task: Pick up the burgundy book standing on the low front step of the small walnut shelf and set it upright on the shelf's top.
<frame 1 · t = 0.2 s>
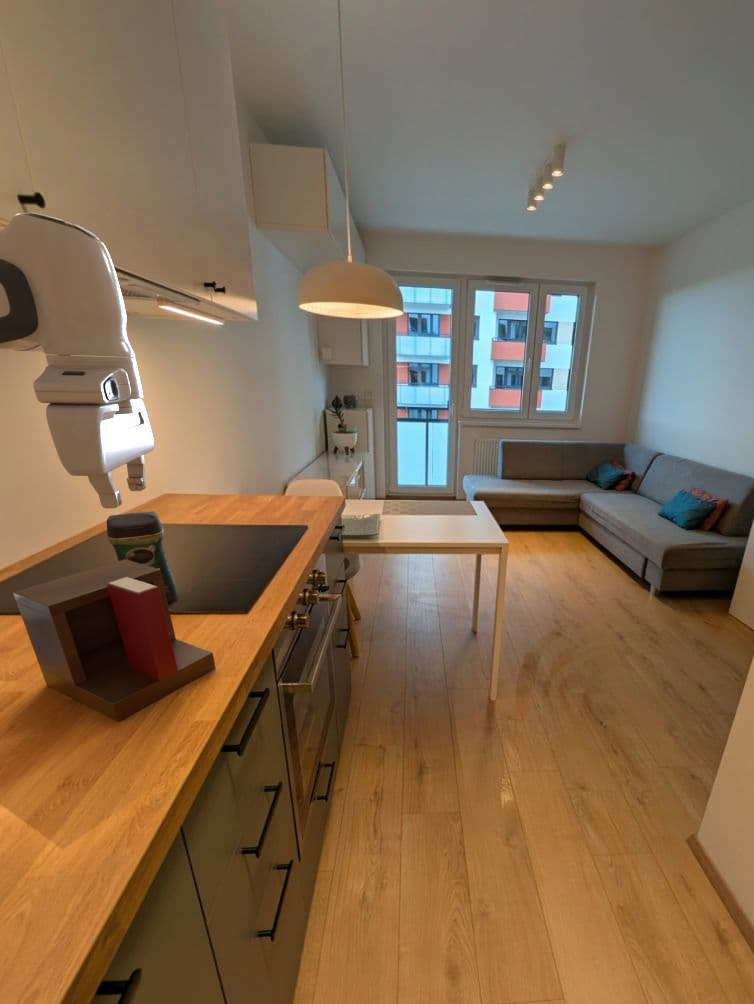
hand: (126, 498, 66), 29 cm above the worktop, tool pointing down, fingers open, 8 cm apart
shelf: (134, 676, 80), on the worktop
book: (154, 670, 77), point 3 cm above the worktop, touching shelf
coffee jar: (153, 601, 106), on the worktop
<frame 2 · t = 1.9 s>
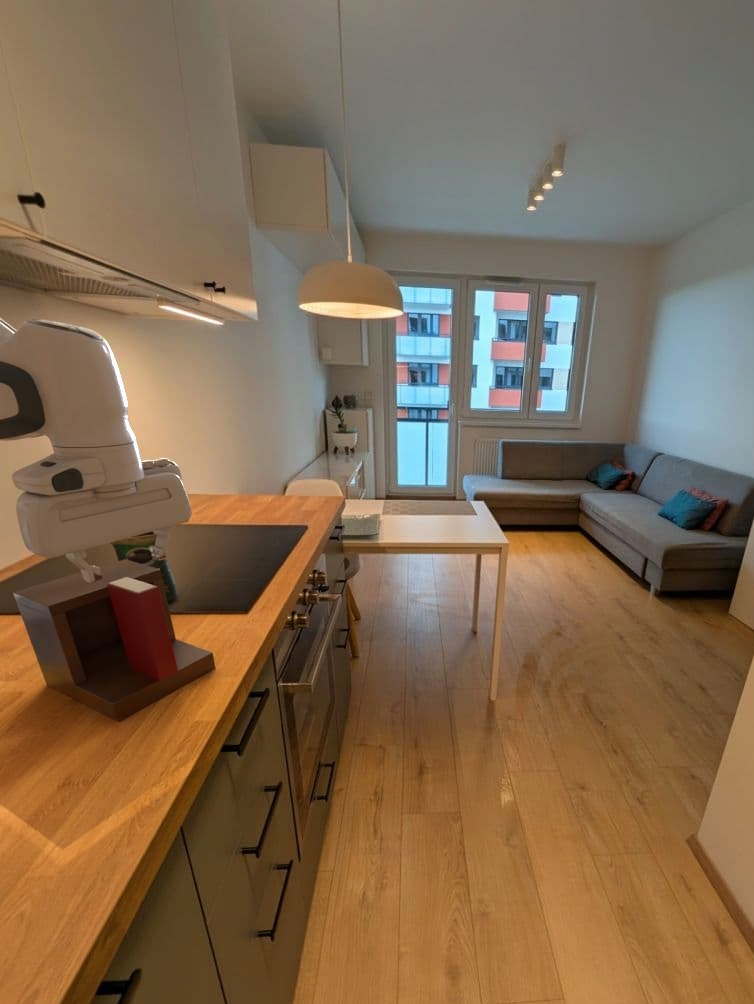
hand: (129, 569, 70), 19 cm above the worktop, tool pointing down, fingers open, 8 cm apart
nothing on the worktop moved.
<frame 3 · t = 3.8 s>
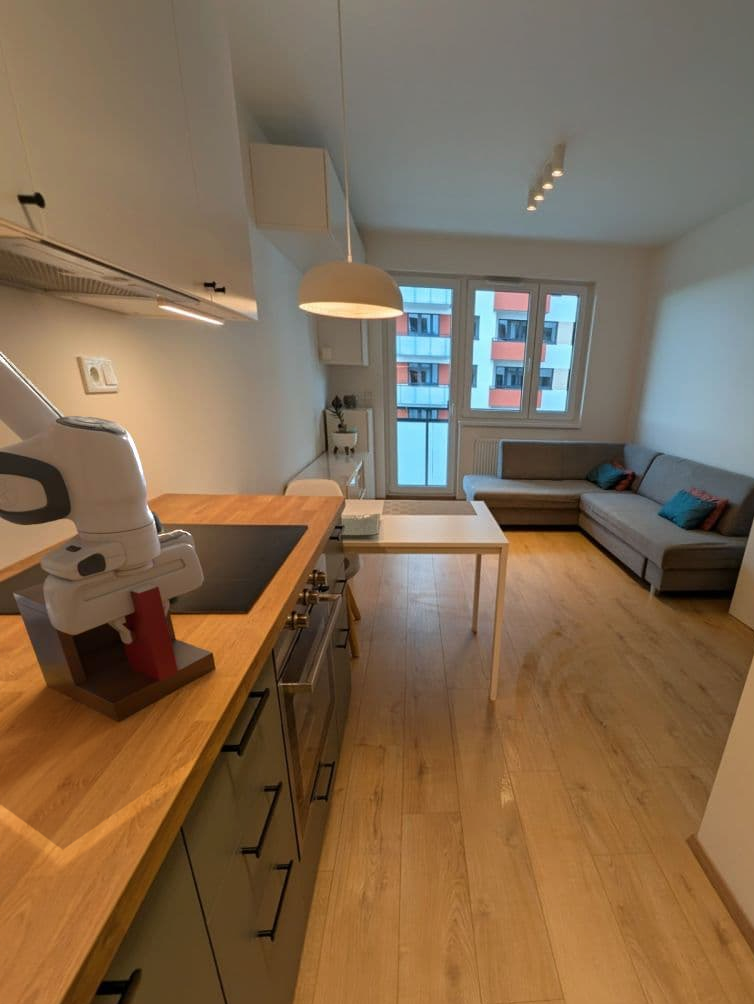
hand: (145, 635, 74), 9 cm above the worktop, tool pointing down, fingers closed on book, 3 cm apart
book: (154, 670, 77), point 3 cm above the worktop, touching gripper, shelf
everything else where it was.
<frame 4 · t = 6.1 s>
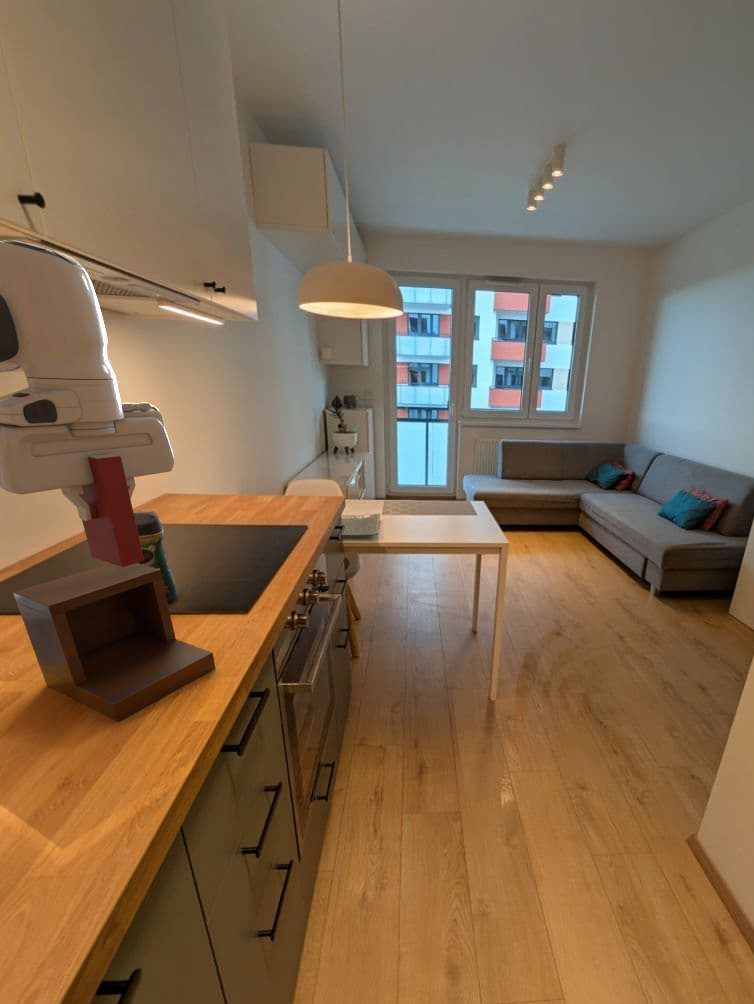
hand: (106, 515, 67), 27 cm above the worktop, tool pointing down, fingers closed on book, 3 cm apart
book: (118, 559, 70), point 21 cm above the worktop, touching gripper
everything else where it was.
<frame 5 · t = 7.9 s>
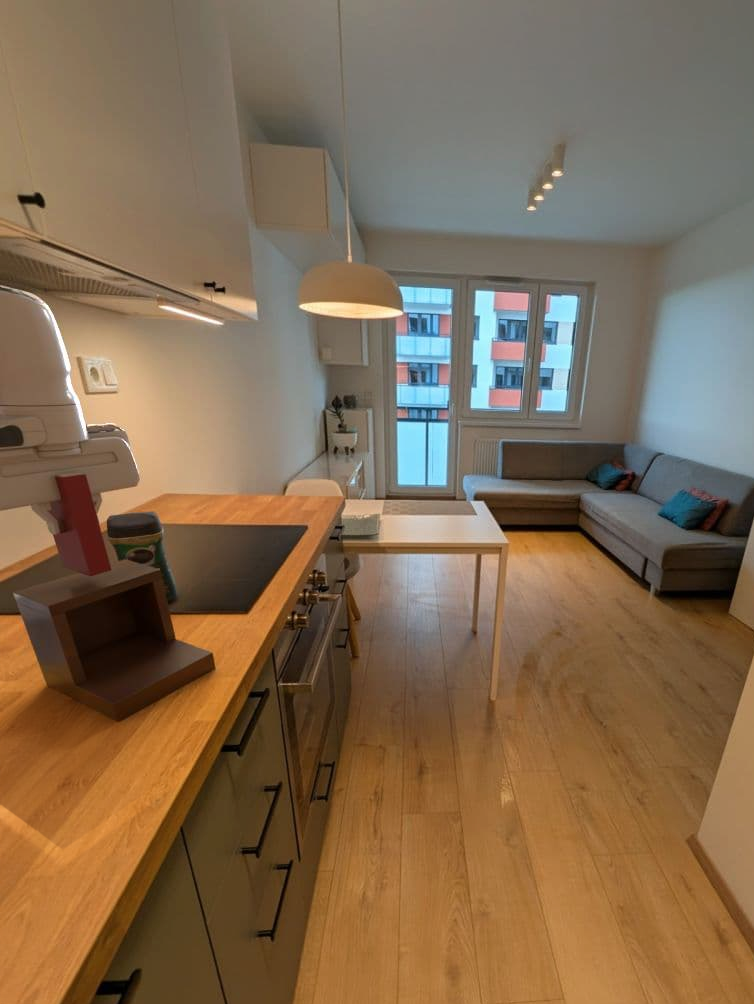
hand: (75, 529, 72), 23 cm above the worktop, tool pointing down, fingers closed on book, 3 cm apart
book: (87, 568, 75), point 17 cm above the worktop, touching gripper
everything else where it was.
when the fingers open (22 cm above the worktop, at t = 8.8 s): book stays where it is, resting on shelf.
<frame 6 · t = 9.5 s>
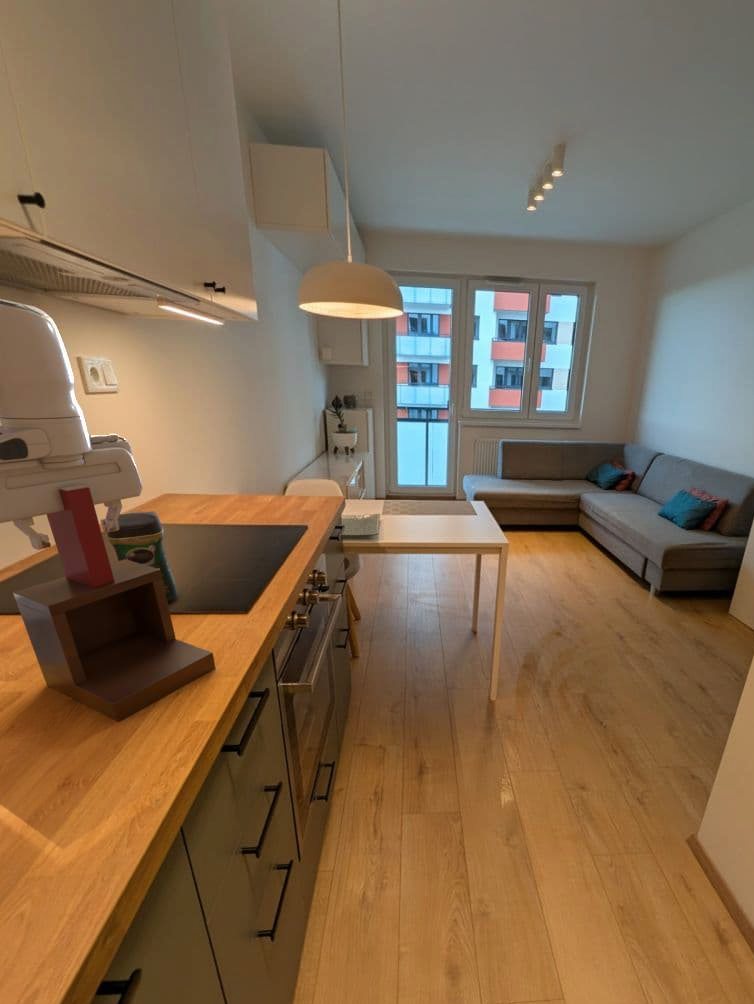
hand: (78, 539, 73), 22 cm above the worktop, tool pointing down, fingers open, 8 cm apart
book: (90, 580, 76), point 16 cm above the worktop, touching shelf
everything else where it was.
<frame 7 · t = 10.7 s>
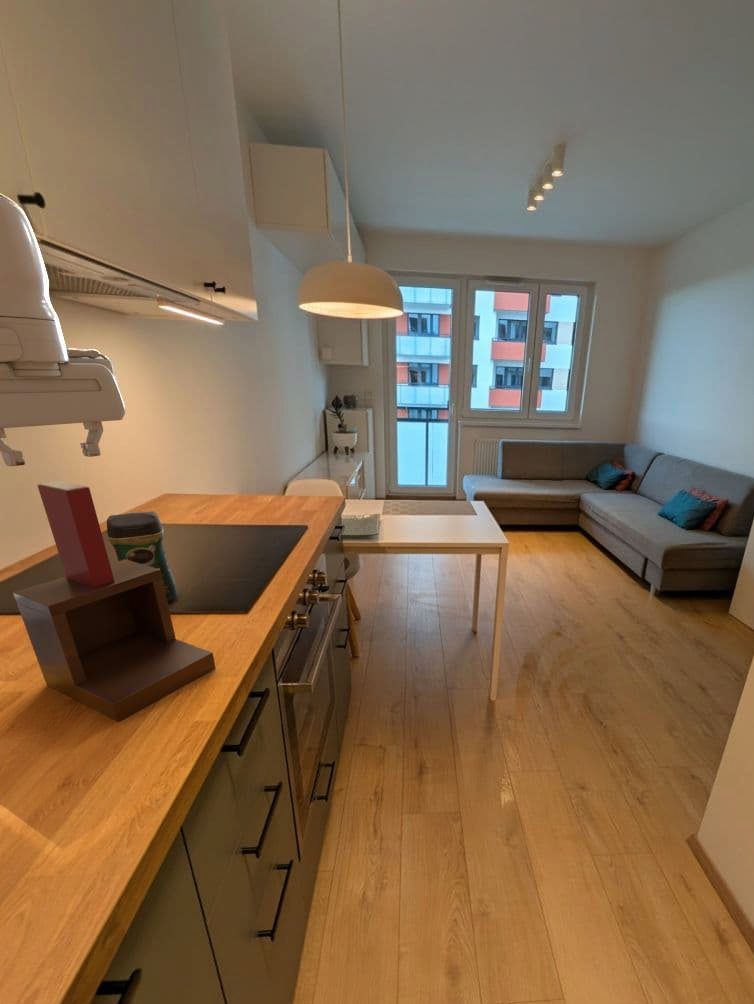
hand: (56, 460, 68), 33 cm above the worktop, tool pointing down, fingers open, 8 cm apart
nothing on the worktop moved.
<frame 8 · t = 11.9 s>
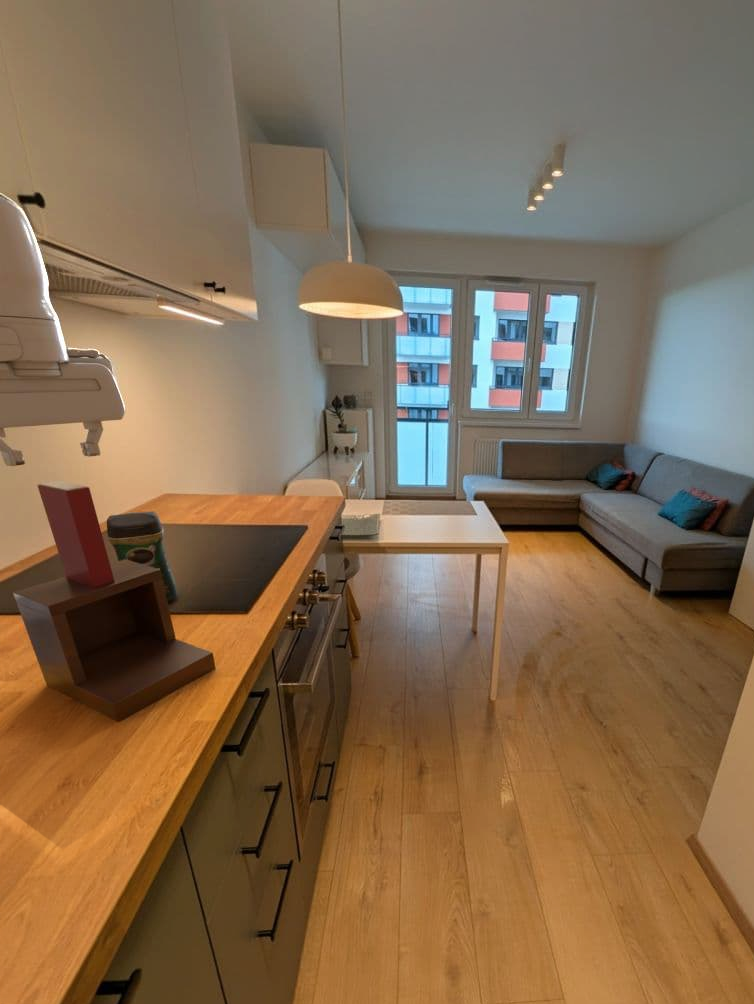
hand: (56, 460, 68), 33 cm above the worktop, tool pointing down, fingers open, 8 cm apart
nothing on the worktop moved.
at the end: book inside the target area on the shelf (0.0 cm from its centre), point 15.6 cm above the shelf's base; book tilted 0°; the gripper is holding nothing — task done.
